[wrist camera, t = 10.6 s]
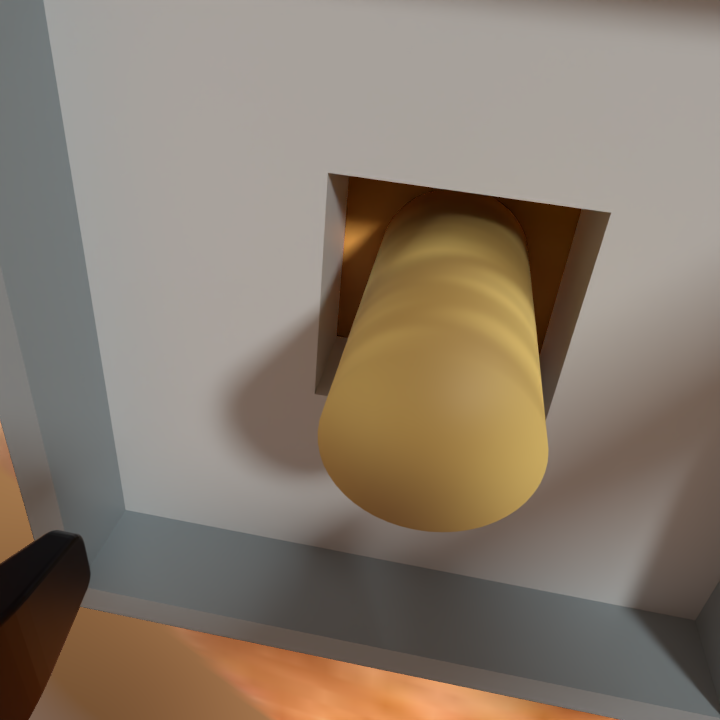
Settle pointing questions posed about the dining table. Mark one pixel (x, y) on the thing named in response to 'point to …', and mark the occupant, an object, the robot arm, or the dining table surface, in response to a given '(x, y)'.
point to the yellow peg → (441, 372)
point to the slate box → (324, 348)
